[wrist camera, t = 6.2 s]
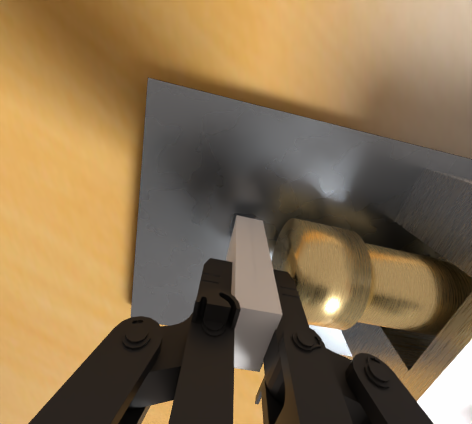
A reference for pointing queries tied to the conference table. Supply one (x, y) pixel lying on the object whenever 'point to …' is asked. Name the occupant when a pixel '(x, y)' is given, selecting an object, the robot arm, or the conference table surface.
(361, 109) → the conference table surface
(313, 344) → the robot arm
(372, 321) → the pin
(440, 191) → the block
